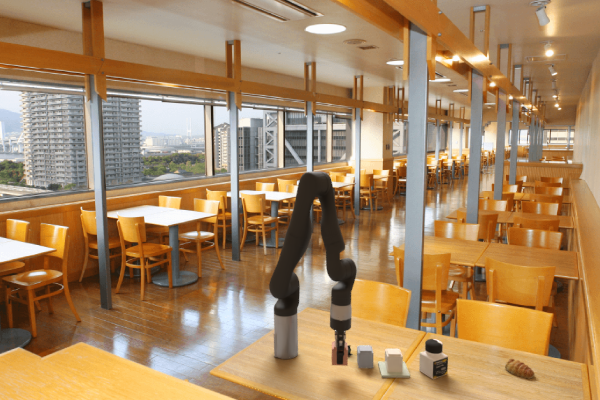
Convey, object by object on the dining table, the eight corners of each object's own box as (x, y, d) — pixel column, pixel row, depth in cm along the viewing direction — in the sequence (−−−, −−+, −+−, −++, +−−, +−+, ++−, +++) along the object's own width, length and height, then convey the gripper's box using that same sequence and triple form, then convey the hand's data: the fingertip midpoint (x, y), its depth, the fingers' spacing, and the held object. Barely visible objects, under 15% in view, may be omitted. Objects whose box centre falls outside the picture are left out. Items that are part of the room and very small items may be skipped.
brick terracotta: (331, 365, 159) (332, 347, 158) (331, 357, 165) (332, 340, 164) (347, 365, 159) (348, 348, 158) (346, 357, 165) (347, 340, 164)
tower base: (381, 377, 161) (381, 357, 160) (377, 363, 171) (378, 344, 170) (410, 377, 160) (410, 358, 159) (404, 363, 170) (404, 344, 169)
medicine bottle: (432, 379, 159) (433, 347, 157) (418, 370, 165) (419, 339, 163) (447, 374, 162) (448, 342, 160) (433, 365, 168) (434, 335, 167)
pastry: (538, 376, 160) (538, 366, 160) (527, 382, 157) (528, 371, 156) (513, 365, 168) (513, 355, 168) (502, 370, 164) (503, 361, 164)
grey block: (358, 368, 168) (358, 351, 167) (357, 360, 173) (357, 344, 172) (373, 368, 167) (373, 351, 166) (371, 360, 173) (371, 344, 172)
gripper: (329, 306, 166) (328, 349, 169) (330, 323, 152) (329, 369, 155) (350, 307, 166) (349, 350, 169) (352, 323, 152) (351, 370, 155)
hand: (339, 359), depth 162 cm, fingers closed on brick terracotta, 5 cm apart
